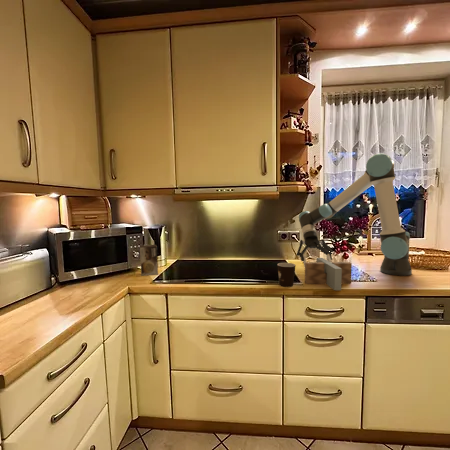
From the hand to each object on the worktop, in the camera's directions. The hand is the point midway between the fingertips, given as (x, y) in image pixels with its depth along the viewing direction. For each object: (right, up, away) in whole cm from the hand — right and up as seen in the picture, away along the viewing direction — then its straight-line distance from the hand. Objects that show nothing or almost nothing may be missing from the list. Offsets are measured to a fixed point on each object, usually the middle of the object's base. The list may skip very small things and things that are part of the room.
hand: (318, 265), depth 155 cm
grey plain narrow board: (+1, -7, -12) cm, 13 cm away
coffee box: (-93, -6, +8) cm, 93 cm away
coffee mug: (-20, -7, -13) cm, 25 cm away
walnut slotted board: (+1, -7, -12) cm, 14 cm away
